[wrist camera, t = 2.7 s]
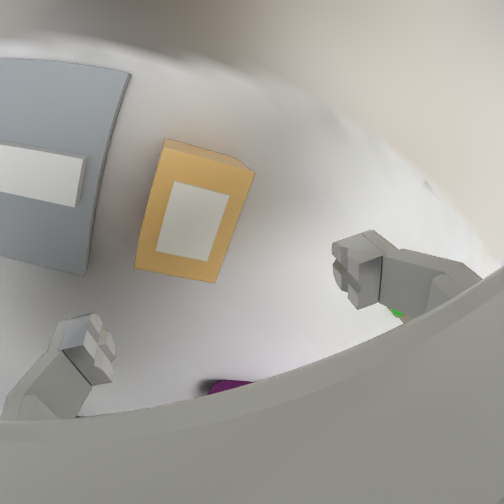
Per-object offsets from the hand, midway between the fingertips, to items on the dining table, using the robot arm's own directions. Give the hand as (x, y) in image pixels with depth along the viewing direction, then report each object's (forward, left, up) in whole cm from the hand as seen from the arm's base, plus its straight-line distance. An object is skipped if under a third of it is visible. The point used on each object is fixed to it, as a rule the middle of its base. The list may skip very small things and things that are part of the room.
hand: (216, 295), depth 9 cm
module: (-1, 0, -12) cm, 12 cm away
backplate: (-1, +16, -12) cm, 20 cm away
